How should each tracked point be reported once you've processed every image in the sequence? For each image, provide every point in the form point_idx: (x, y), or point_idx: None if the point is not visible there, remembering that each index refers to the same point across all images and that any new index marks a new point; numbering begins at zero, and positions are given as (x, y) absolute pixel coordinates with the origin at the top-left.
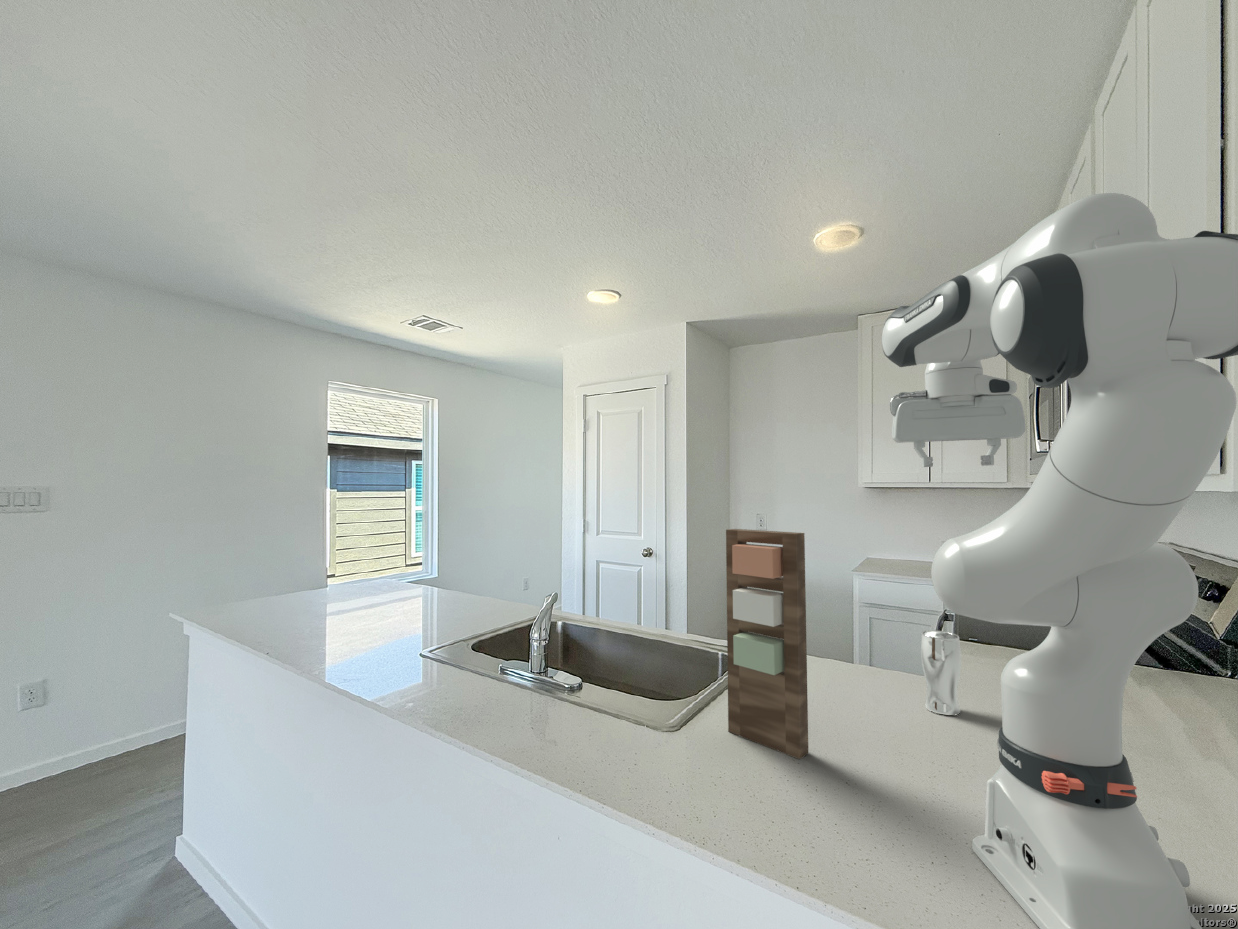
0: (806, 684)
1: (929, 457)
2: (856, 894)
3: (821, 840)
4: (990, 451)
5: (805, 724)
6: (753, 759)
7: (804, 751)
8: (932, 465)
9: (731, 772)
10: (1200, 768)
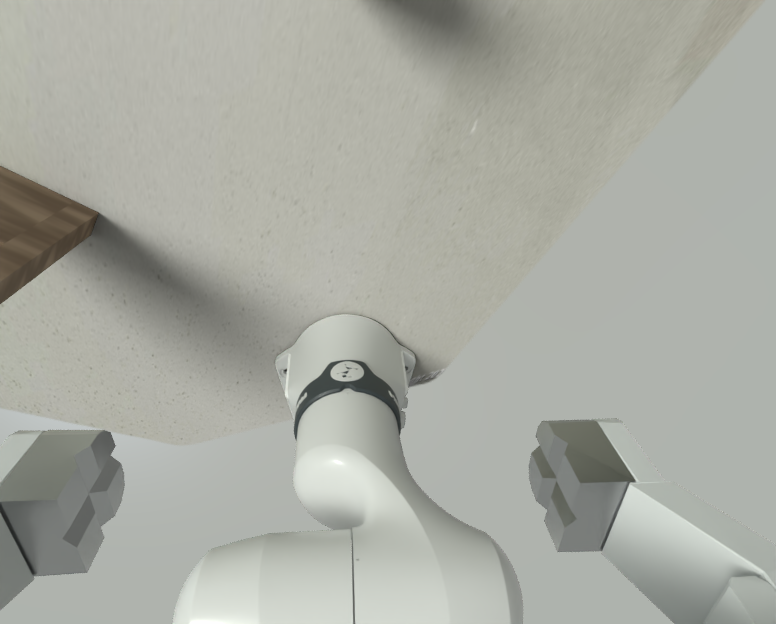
0: (43, 252)
1: (57, 569)
2: (175, 429)
3: (142, 381)
4: (648, 563)
5: (75, 234)
6: None
7: (91, 225)
8: (119, 495)
9: None
10: (637, 112)
